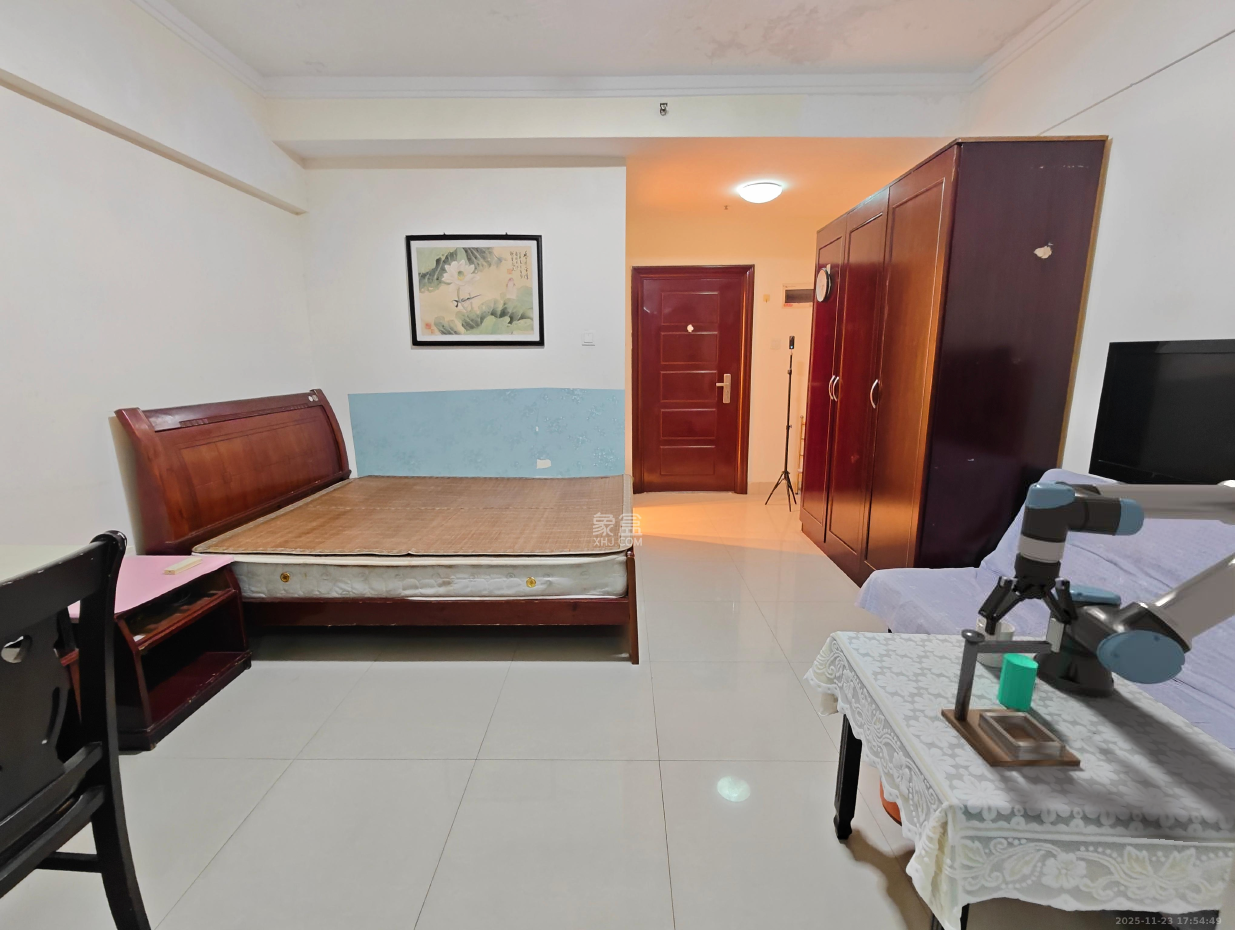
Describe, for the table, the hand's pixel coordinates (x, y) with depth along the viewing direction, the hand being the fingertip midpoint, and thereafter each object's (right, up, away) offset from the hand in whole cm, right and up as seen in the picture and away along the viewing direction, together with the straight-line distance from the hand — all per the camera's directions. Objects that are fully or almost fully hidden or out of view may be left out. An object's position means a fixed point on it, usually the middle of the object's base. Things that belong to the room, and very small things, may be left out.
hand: (1021, 648), depth 116 cm
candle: (0, -13, +2) cm, 13 cm away
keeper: (-10, -13, -5) cm, 17 cm away
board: (-10, -15, -9) cm, 20 cm away
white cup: (+7, -10, +19) cm, 23 cm away
